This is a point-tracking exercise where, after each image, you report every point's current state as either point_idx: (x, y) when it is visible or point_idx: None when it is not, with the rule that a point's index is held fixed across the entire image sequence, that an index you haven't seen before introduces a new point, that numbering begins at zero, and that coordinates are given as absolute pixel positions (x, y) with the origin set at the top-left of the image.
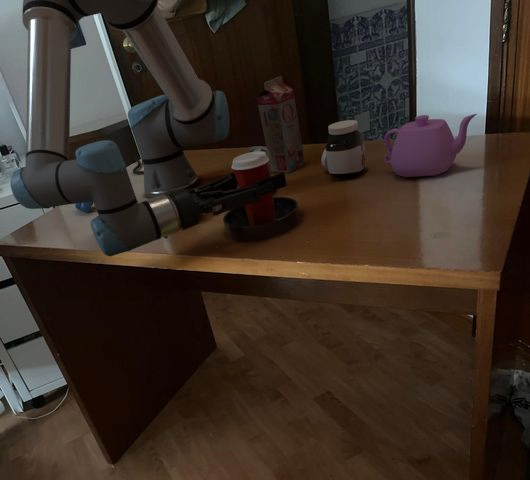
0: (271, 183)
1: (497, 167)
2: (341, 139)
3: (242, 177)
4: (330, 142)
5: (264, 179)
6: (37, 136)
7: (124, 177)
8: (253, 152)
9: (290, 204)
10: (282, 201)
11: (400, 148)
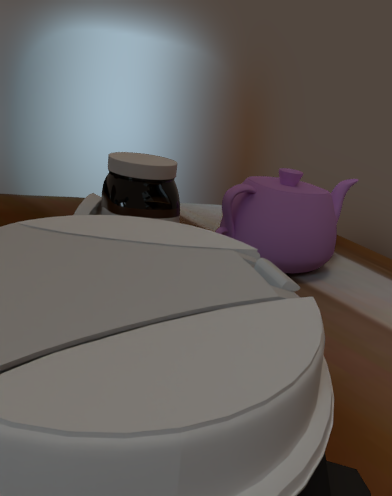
0: (365, 490)
1: (354, 255)
2: (160, 191)
3: None
4: (131, 195)
5: (314, 475)
6: None
7: None
8: (83, 221)
9: None
10: None
11: (284, 222)
